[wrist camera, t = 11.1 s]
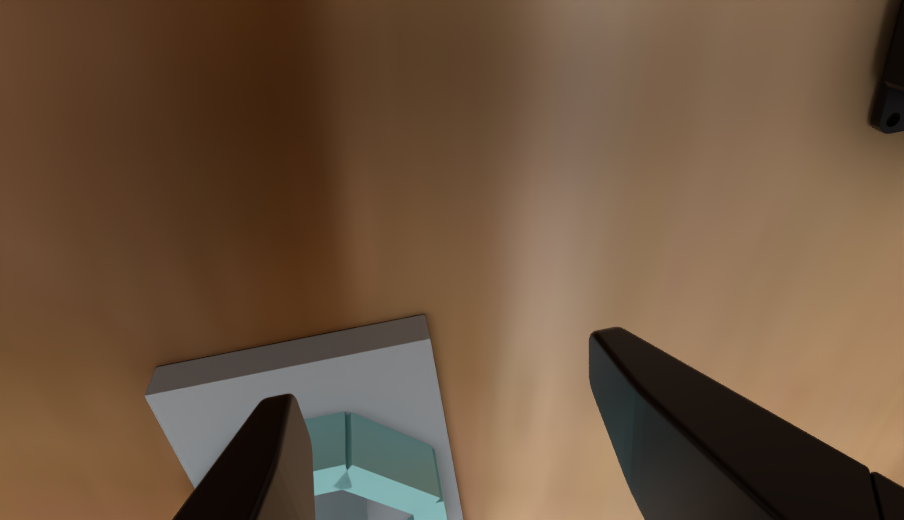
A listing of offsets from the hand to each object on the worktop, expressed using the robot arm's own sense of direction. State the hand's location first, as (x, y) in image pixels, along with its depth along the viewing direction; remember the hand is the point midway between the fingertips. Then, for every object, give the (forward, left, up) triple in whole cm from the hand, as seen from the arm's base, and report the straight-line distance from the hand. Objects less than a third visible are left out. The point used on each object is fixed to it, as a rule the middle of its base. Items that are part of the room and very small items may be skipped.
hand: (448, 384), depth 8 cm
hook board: (+5, +15, -12) cm, 20 cm away
